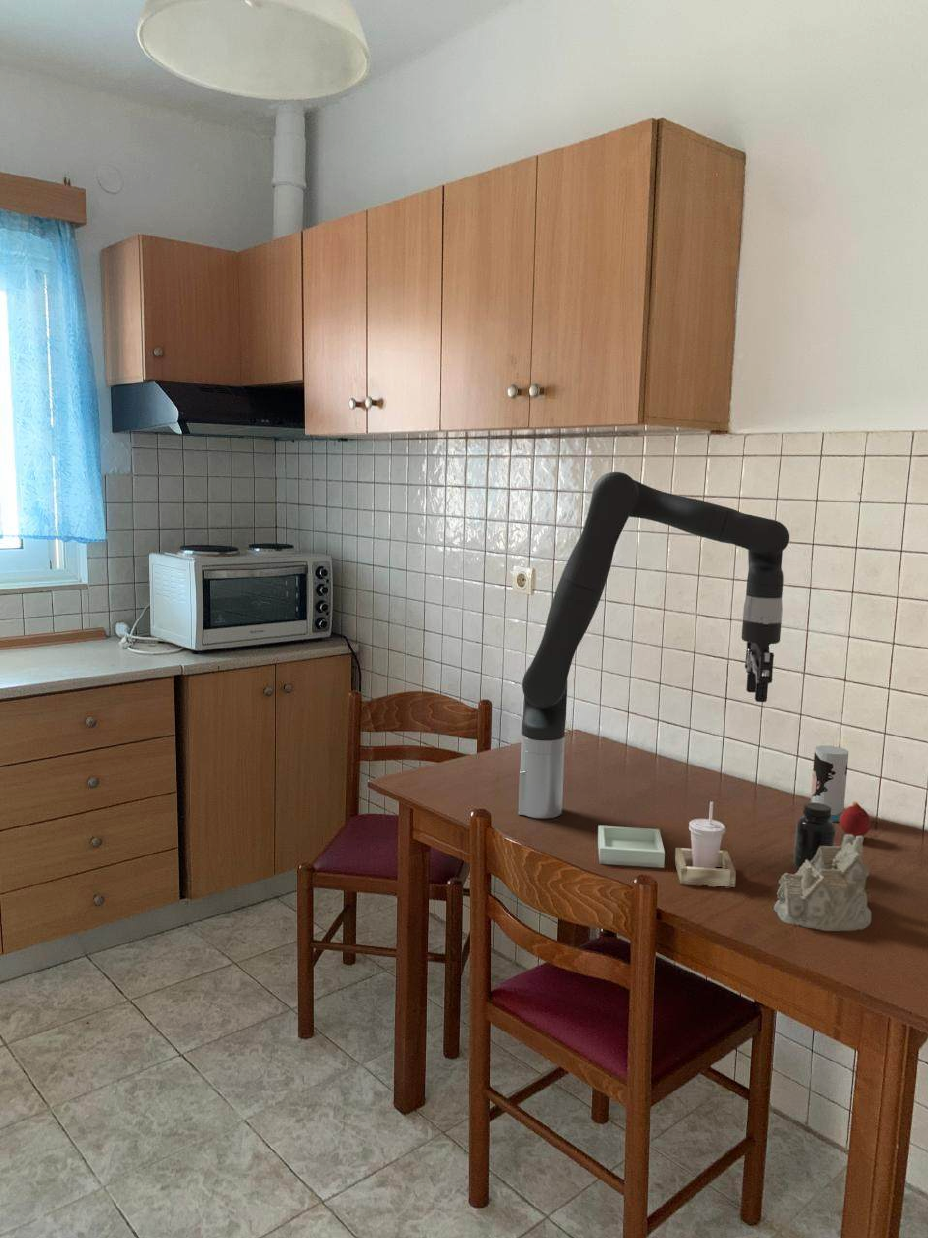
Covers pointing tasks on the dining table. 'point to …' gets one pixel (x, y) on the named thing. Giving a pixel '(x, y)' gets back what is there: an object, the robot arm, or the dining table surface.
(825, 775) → the cup
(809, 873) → the ceramic cottage
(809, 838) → the supplement bottle
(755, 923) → the dining table surface
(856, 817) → the onion
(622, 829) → the tray
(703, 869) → the rectangular wooden frame
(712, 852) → the smoothie
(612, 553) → the robot arm
